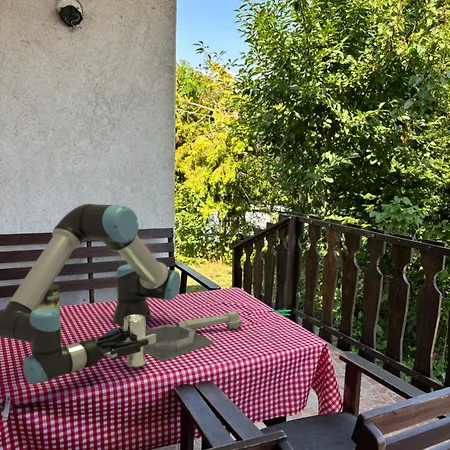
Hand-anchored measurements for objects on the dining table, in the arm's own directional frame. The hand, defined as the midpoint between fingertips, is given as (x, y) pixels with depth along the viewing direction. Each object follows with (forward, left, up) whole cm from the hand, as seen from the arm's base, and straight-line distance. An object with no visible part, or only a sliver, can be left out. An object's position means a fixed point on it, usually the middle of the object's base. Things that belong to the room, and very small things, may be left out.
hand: (148, 334), depth 147 cm
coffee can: (-61, -9, -9) cm, 62 cm away
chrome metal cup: (0, -5, -8) cm, 10 cm away
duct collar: (-8, +14, -9) cm, 18 cm away
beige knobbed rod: (-7, +32, -9) cm, 34 cm away
